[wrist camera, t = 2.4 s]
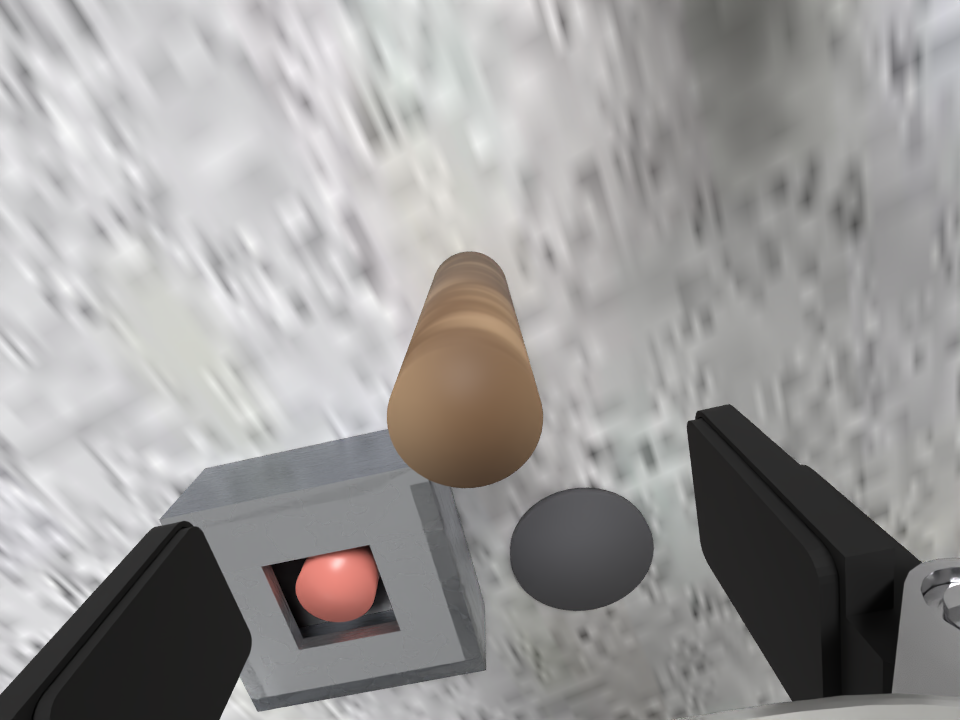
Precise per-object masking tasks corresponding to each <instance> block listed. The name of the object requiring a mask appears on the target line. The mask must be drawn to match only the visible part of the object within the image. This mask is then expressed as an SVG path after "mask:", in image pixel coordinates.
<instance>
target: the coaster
mask: <svg viewBox="0 0 960 720" xmlns="http://www.w3.org/2000/svg"><path fill="white" fill-rule="evenodd" d="M653 549H654V547H653V538H652V534H651V531H650V529H649V526H648V524H647V522H646V520H645V519H644V517H643V515H642V514H641V512H640V511H639V510H638V509H637V508H636V507H635V506H634V505H633V504H632V503H631V502H630V501H628V500H626V499H625V498H623V497H622V496H619V495H617V494H615V493H613V492H610V491H607V490H602V489H597V488H575V489H568V490H564V491H560V492H557V493H555V494H552V495H550V496H548V497H546V498H544V499H542V500H541V501H539V502H538V503H536V504H535V505H533V506H532V507H531V508H530V509H529V510H528V511H527V512H526V513H525V514H524V515H523V517H522V518H521V519H520V521H519V522H518V524H517V526H516V528H515V530H514V532H513V536H512V539H511V546H510V555H511V563H512V569H513V571H514V574H515V577H516V578H517V580H518V582H519V583H520V585H521V586H522V588H523V589H524V590H525V591H526V592H527V593H528V594H530V595H531V596H532V597H533V598H535V599H536V600H538V601H540V602H542V603H544V604H546V605H548V606H551V607H555V608H558V609H564V610H573V611H581V610H591V609H596V608H600V607H604V606H606V605H609V604H612V603H614V602H616V601H618V600H620V599H621V598H623V597H625V596H626V595H627V594H629V593H630V592H631V591H633V590H634V589H635V588H636V587H637V586H638V585H639V583H640V582H641V581H642V580H643V578H644V577H645V575H646V573H647V572H648V570H649V567H650V565H651V562H652V558H653Z"/></svg>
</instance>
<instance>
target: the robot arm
mask: <svg viewBox="0 0 960 720" xmlns="http://www.w3.org/2000/svg"><path fill="white" fill-rule="evenodd" d="M687 433H688V442H689V450H690V458H691V467H692V475H693V484H694V492H695V501H696V509H697V518H698V526H699V534H700V542H701V547H702V551H703V554H704V556H705V559H706V561H707V563H708V565H709V566H710V568H711V570H712V571H713V573H714V574H715V576H716V578H717V579H718V581H719V583H720V584H721V586H722V588H723V589H724V591H725V592H726V594H727V596H728V597H729V599H730V601H731V602H732V604H733V605H734V607H735V609H736V610H737V612H738V614H739V615H740V617H741V618H742V620H743V622H744V623H745V625H746V627H747V628H748V630H749V632H750V633H751V635H752V636H753V638H754V640H755V641H756V643H757V645H758V646H759V648H760V649H761V651H762V653H763V654H764V656H765V658H766V659H767V661H768V662H769V664H770V666H771V667H772V669H773V671H774V672H775V674H776V676H777V677H778V679H779V680H780V682H781V684H782V685H783V687H784V689H785V690H786V692H787V693H788V695H789V697H790V698H791V700H792V702H783V703H774V704H768V705H761V706H755V707H748V708H742V709H735V710H729V711H723V712H716V713H710V714H704V715H697V716H691V717H685V718H678V719H672V720H960V558H948V559H936V560H932V561H928V562H925V563H922V562H921V561H919V560H918V559H917V558H916V557H915V556H914V555H912V554H911V553H910V552H909V551H908V550H907V549H905V548H904V547H903V546H902V545H901V544H900V543H898V542H897V541H896V540H895V539H894V538H892V537H891V536H890V535H889V534H888V533H887V532H885V531H884V530H883V529H882V528H881V527H880V526H878V525H877V524H876V523H875V522H874V521H873V520H871V519H870V518H869V517H868V516H867V515H866V514H864V513H863V512H862V511H861V510H860V509H859V508H857V507H856V506H855V505H854V504H853V503H851V502H850V501H849V500H848V499H847V498H846V497H844V496H843V495H842V494H841V493H840V492H839V491H837V490H836V489H835V488H834V487H833V486H832V485H830V484H829V483H828V482H827V481H826V480H825V479H823V478H822V477H821V476H820V475H819V474H818V473H816V472H815V471H814V470H813V469H811V468H810V467H808V466H806V465H800V464H798V463H797V462H796V461H795V460H794V459H793V458H792V457H790V456H789V455H788V454H787V453H786V452H785V451H784V450H782V449H781V448H780V447H779V446H778V445H777V444H776V443H774V442H773V441H772V440H771V439H770V438H769V437H768V436H766V435H765V434H764V433H763V432H762V431H761V430H760V429H758V428H757V427H756V426H755V425H754V424H753V423H751V422H750V421H749V420H748V419H747V418H746V417H745V416H743V415H742V414H741V413H740V412H739V411H738V410H737V409H735V408H734V407H733V406H732V405H730V404H729V405H723V406H719V407H714V408H709V409H705V410H700V411H697V413H696V417H695V420H691V421H688V423H687ZM251 647H252V637H251V633H250V630H249V628H248V626H247V624H246V622H245V620H244V618H243V615H242V613H241V611H240V609H239V607H238V605H237V603H236V601H235V599H234V596H233V594H232V592H231V590H230V588H229V586H228V584H227V582H226V579H225V577H224V575H223V573H222V571H221V569H220V567H219V565H218V563H217V560H216V558H215V556H214V554H213V552H212V550H211V548H210V546H209V544H208V541H207V539H206V537H205V535H204V533H203V531H202V530H201V529H200V528H199V527H196V526H193V525H192V524H191V523H190V522H188V521H181V522H176V523H172V524H167V525H162V526H158V527H154V528H153V529H151V530H150V531H149V532H148V533H147V534H146V535H145V536H144V537H143V539H142V540H141V541H140V542H139V543H138V544H137V545H136V546H135V547H134V548H133V550H132V551H131V552H130V553H129V554H128V555H127V556H126V557H125V558H124V559H123V560H122V562H121V563H120V564H119V565H118V566H117V567H116V568H115V569H114V570H113V571H112V573H111V574H110V575H109V576H108V577H107V578H106V579H105V580H104V581H103V582H102V584H101V585H100V586H99V587H98V588H97V589H96V590H95V591H94V592H93V593H92V595H91V596H90V597H89V598H88V599H87V600H86V601H85V602H84V603H83V604H82V606H81V607H80V608H79V609H78V610H77V611H76V612H75V613H74V614H73V615H72V617H71V618H70V619H69V620H68V621H67V622H66V623H65V624H64V625H63V626H62V628H61V629H60V630H59V631H58V632H57V633H56V634H55V635H54V636H53V637H52V639H51V640H50V641H49V642H48V643H47V644H46V645H45V646H44V647H43V648H42V650H41V651H40V652H39V653H38V654H37V655H36V656H35V657H34V658H33V659H32V661H31V662H30V663H29V664H28V665H27V666H26V667H25V668H24V669H23V670H22V671H21V673H20V674H19V675H18V676H17V677H16V678H15V679H14V680H13V681H12V682H11V684H10V685H9V686H8V687H7V688H6V689H5V690H4V691H3V692H2V693H1V695H0V720H219V719H220V717H221V715H222V713H223V711H224V709H225V706H226V704H227V702H228V700H229V698H230V696H231V693H232V691H233V689H234V687H235V685H236V683H237V681H238V678H239V676H240V674H241V672H242V670H243V668H244V665H245V663H246V661H247V659H248V657H249V655H250V652H251Z"/></svg>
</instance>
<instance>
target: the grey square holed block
mask: <svg viewBox="0 0 960 720" xmlns="http://www.w3.org/2000/svg"><path fill="white" fill-rule="evenodd" d="M181 521H188V522H190V523H191V524H192V525H193V526H196V527H199V528H200V529H201V530H202V531H203V533H204V535H205V537H206V539H207V541H208V544H209V546H210V548H211V550H212V552H213V554H214V556H215V558H216V560H217V563H218V565H219V567H220V569H221V571H222V573H223V575H224V577H225V579H226V582H227V584H228V586H229V588H230V590H231V592H232V594H233V596H234V599H235V601H236V603H237V605H238V607H239V609H240V611H241V613H242V615H243V618H244V620H245V622H246V624H247V626H248V628H249V630H250V633H251V637H252V647H251V652H250V655H249V657H248V659H247V661H246V663H245V665H244V668H243V670H242V672H241V674H240V678H241V680H242V682H243V684H244V686H245V688H246V690H247V692H248V694H249V696H250V698H251V700H252V702H253V703H254V705H255V707H256V709H257V711H258V712H259V711H265V710H270V709H276V708H281V707H287V706H292V705H298V704H303V703H309V702H314V701H319V700H325V699H330V698H336V697H341V696H347V695H352V694H358V693H363V692H369V691H374V690H380V689H385V688H391V687H396V686H402V685H407V684H412V683H418V682H423V681H429V680H434V679H440V678H445V677H451V676H456V675H462V674H467V673H473V672H478V671H484V670H486V650H485V608H484V601H483V598H482V594H481V591H480V588H479V584H478V581H477V577H476V574H475V570H474V567H473V563H472V560H471V557H470V553H469V550H468V546H467V543H466V539H465V536H464V532H463V529H462V525H461V522H460V519H459V515H458V512H457V508H456V505H455V501H454V498H453V494H452V491H451V488H450V487H449V486H444V485H441V484H438V483H435V482H433V481H430V480H428V479H426V478H424V477H423V476H421V475H419V474H418V473H416V472H415V471H414V470H413V469H411V468H410V467H409V466H408V465H407V464H406V463H405V462H404V461H403V459H402V458H401V457H400V455H399V454H398V453H397V451H396V449H395V447H394V446H393V443H392V441H391V438H390V435H389V431H388V429H387V430H382V431H377V432H373V433H368V434H364V435H359V436H354V437H350V438H345V439H340V440H336V441H331V442H326V443H322V444H317V445H313V446H308V447H303V448H299V449H294V450H289V451H285V452H280V453H275V454H271V455H266V456H262V457H257V458H252V459H248V460H243V461H238V462H234V463H229V464H224V465H220V466H215V467H211V468H206V469H204V470H203V472H202V473H201V474H200V475H199V476H198V477H197V478H196V479H195V481H194V482H193V483H192V484H191V485H190V486H189V487H188V488H187V489H186V491H185V492H184V493H183V494H182V495H181V496H180V497H179V498H178V499H177V501H176V502H175V503H174V504H173V505H172V506H171V507H170V508H169V510H168V511H167V512H166V513H165V514H164V515H163V516H162V517H161V518H160V522H161V524H162V525H167V524H172V523H176V522H181ZM366 545H370V548H371V550H372V553H373V556H374V559H375V561H376V564H377V567H378V570H379V572H380V575H381V578H382V581H383V583H384V586H385V589H386V592H387V594H388V597H389V600H390V603H391V605H392V608H393V610H390V611H385V612H379V613H374V614H369V615H364V616H361V617H359V618H357V619H354V620H351V621H347V622H327V623H322V624H317V625H312V626H307V627H301V628H298V626H297V624H296V621H295V619H294V617H293V615H292V612H291V610H290V608H289V606H288V603H287V601H286V599H285V597H284V594H283V592H282V590H281V588H280V585H279V583H278V581H277V579H276V576H275V574H274V572H273V570H272V567H271V565H272V564H277V563H282V562H287V561H291V560H296V559H301V558H306V557H311V556H316V555H321V554H326V553H331V552H336V551H341V550H346V549H351V548H356V547H361V546H366Z"/></svg>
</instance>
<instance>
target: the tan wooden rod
mask: <svg viewBox="0 0 960 720" xmlns="http://www.w3.org/2000/svg"><path fill="white" fill-rule="evenodd" d="M387 425H388V431H389V435H390V438H391V441H392V443H393V446H394V447H395V449H396V451H397V453H398V454H399V455H400V457H401V458H402V459H403V461H404V462H405V463H406V464H407V465H408V466H409V467H410V468H411V469H413V470H414V471H415V472H416V473H418V474H419V475H421V476H423V477H424V478H426V479H428V480H430V481H433V482H435V483H438V484H441V485H444V486H449V487H456V488H475V487H482V486H486V485H490V484H493V483H495V482H498V481H501V480H502V479H504V478H506V477H508V476H510V475H511V474H513V473H514V472H515V471H517V470H518V469H519V468H520V467H521V466H522V465H523V464H524V463H525V462H526V461H527V460H528V459H529V457H530V456H531V455H532V453H533V451H534V450H535V448H536V446H537V444H538V441H539V438H540V435H541V432H542V425H543V410H542V404H541V400H540V397H539V393H538V390H537V386H536V383H535V379H534V376H533V372H532V369H531V365H530V362H529V358H528V355H527V351H526V348H525V344H524V341H523V337H522V334H521V331H520V327H519V324H518V320H517V317H516V313H515V310H514V306H513V303H512V299H511V296H510V292H509V289H508V285H507V282H506V278H505V275H504V273H503V271H502V269H501V268H500V266H499V265H498V264H497V263H496V262H495V261H494V260H493V259H491V258H490V257H488V256H486V255H484V254H481V253H478V252H462V253H458V254H455V255H453V256H451V257H450V258H448V259H447V260H445V261H444V262H443V263H442V264H441V265H440V267H439V268H438V270H437V272H436V274H435V276H434V279H433V282H432V285H431V287H430V290H429V293H428V295H427V298H426V301H425V304H424V306H423V309H422V312H421V315H420V317H419V320H418V323H417V325H416V328H415V331H414V334H413V336H412V339H411V342H410V344H409V347H408V350H407V353H406V355H405V358H404V361H403V364H402V366H401V369H400V372H399V374H398V377H397V380H396V383H395V385H394V388H393V391H392V394H391V396H390V399H389V404H388V409H387Z"/></svg>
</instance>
